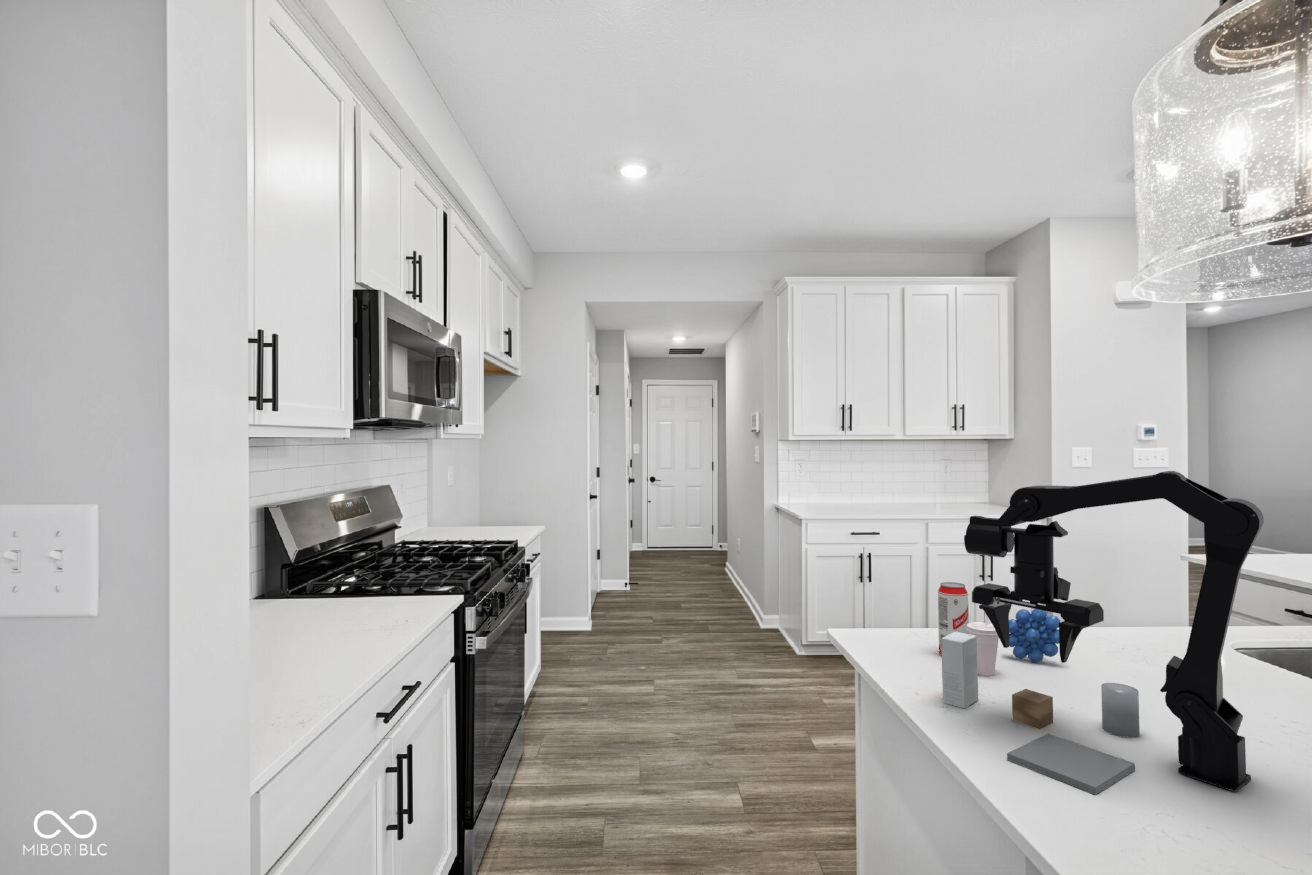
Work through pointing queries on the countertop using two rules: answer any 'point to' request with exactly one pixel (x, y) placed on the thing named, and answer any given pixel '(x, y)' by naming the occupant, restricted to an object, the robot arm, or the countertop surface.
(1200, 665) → the robot arm
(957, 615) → the beer can
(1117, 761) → the slate pad
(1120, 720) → the grey cylinder
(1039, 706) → the walnut block
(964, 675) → the skincare box
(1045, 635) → the grapes
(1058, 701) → the countertop surface
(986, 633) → the smoothie
